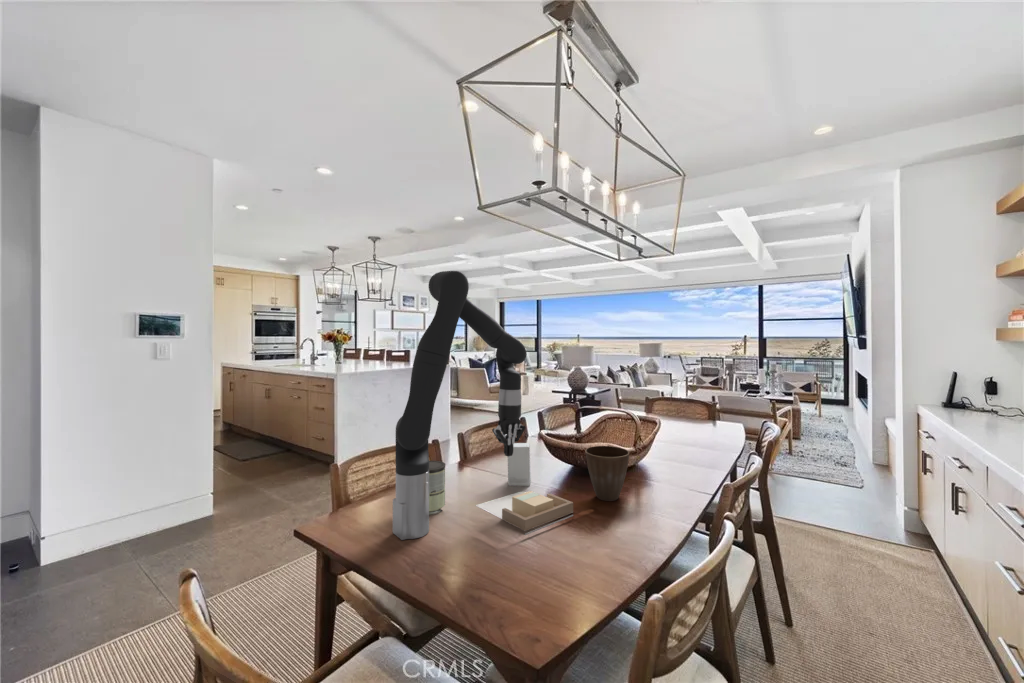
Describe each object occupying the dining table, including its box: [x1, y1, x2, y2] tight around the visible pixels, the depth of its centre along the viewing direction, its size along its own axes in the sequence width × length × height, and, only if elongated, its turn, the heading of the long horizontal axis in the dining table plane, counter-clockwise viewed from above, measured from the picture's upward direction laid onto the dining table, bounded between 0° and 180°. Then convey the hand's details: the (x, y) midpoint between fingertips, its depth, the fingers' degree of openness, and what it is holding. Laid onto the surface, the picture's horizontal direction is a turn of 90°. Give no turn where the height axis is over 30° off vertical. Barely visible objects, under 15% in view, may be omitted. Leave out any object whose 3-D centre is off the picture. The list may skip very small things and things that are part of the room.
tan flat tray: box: [475, 491, 574, 536], centre depth 131 cm, size 20×24×4 cm
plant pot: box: [584, 445, 630, 502], centre depth 144 cm, size 15×15×16 cm
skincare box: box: [507, 442, 532, 487], centre depth 155 cm, size 8×7×16 cm
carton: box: [512, 490, 553, 518], centre depth 128 cm, size 8×10×5 cm
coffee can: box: [429, 460, 447, 516], centre depth 134 cm, size 10×10×14 cm
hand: (508, 455), depth 137 cm, fingers closed
